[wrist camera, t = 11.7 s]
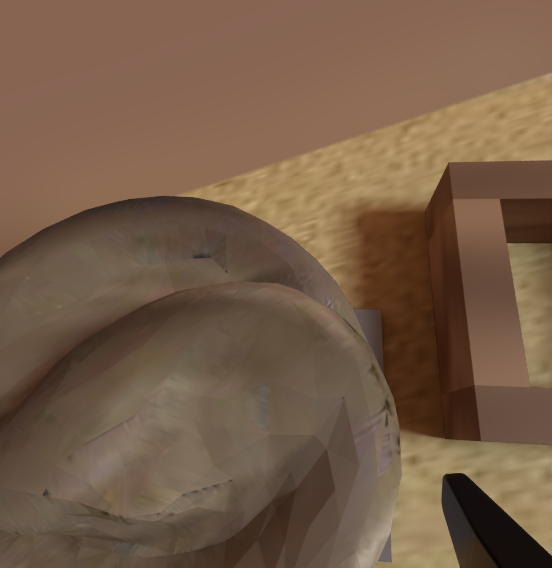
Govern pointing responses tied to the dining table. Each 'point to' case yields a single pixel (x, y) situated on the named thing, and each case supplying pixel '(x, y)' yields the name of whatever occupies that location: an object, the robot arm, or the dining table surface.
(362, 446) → the light bulb
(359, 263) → the dining table surface
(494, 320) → the socket block
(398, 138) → the dining table surface
